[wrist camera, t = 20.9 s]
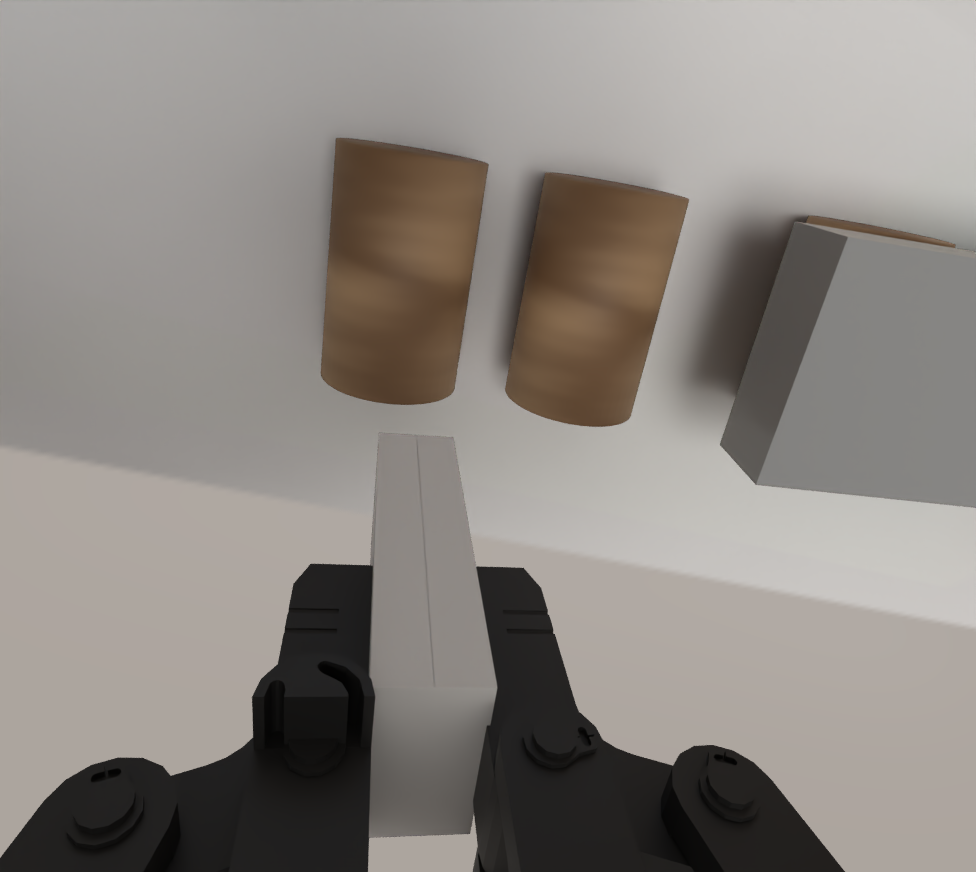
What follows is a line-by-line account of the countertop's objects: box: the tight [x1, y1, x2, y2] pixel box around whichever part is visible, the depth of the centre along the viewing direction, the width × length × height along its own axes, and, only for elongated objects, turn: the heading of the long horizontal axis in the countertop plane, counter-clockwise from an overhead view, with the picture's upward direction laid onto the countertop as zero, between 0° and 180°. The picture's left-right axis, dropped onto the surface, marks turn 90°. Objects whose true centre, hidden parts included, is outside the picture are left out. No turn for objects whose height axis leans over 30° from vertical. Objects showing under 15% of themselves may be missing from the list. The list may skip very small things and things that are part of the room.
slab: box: [720, 221, 976, 508], centre depth 23 cm, size 12×8×3 cm, turn 81°
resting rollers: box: [321, 138, 689, 427], centre depth 25 cm, size 12×8×5 cm, turn 81°
